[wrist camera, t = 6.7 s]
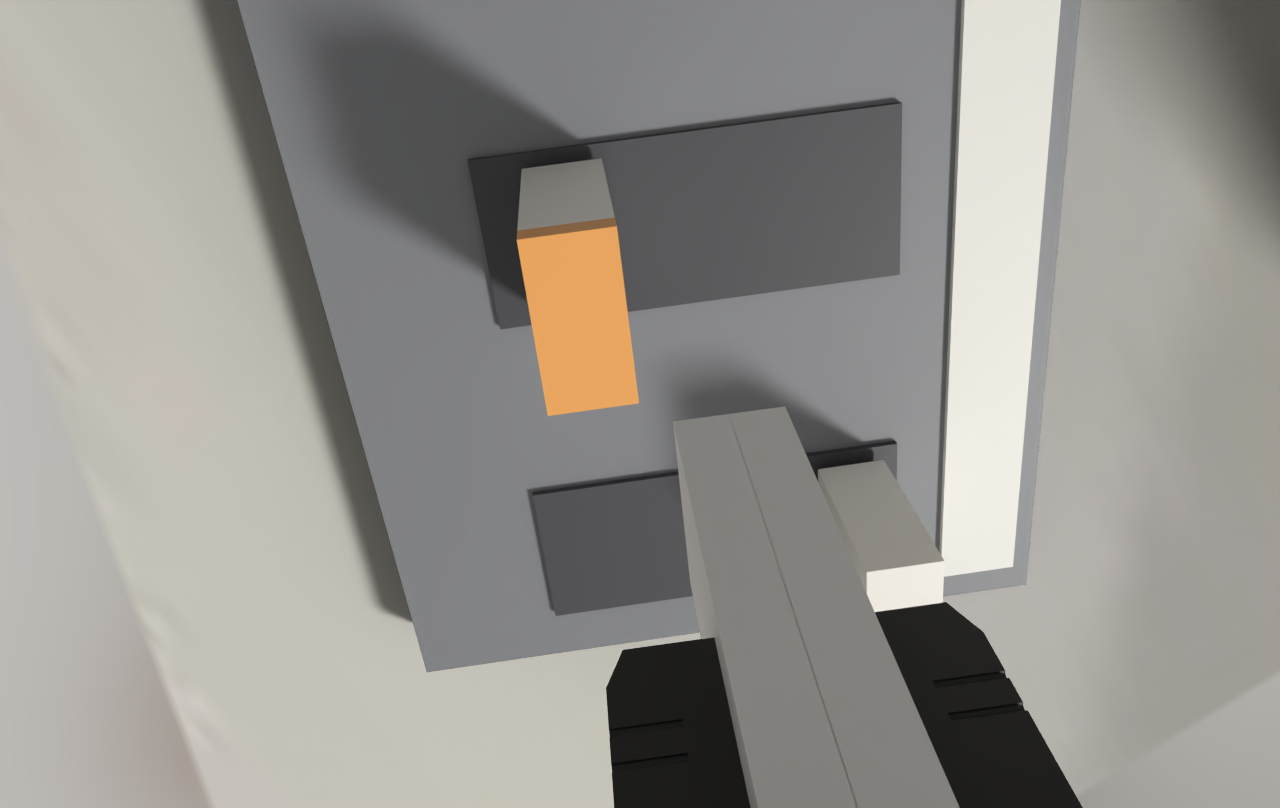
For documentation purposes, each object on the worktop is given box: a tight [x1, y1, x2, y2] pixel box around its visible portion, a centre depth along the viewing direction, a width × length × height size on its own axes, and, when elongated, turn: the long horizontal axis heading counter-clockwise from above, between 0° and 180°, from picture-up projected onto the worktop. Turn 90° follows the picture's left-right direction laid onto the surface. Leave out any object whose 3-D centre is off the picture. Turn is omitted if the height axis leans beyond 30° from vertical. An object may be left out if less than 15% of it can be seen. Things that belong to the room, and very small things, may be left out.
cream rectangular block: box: [818, 460, 945, 612], centre depth 28 cm, size 4×2×5 cm, turn 6°
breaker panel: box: [237, 0, 1081, 672], centre depth 27 cm, size 28×20×2 cm
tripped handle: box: [517, 158, 639, 416], centre depth 23 cm, size 4×2×6 cm, turn 6°
